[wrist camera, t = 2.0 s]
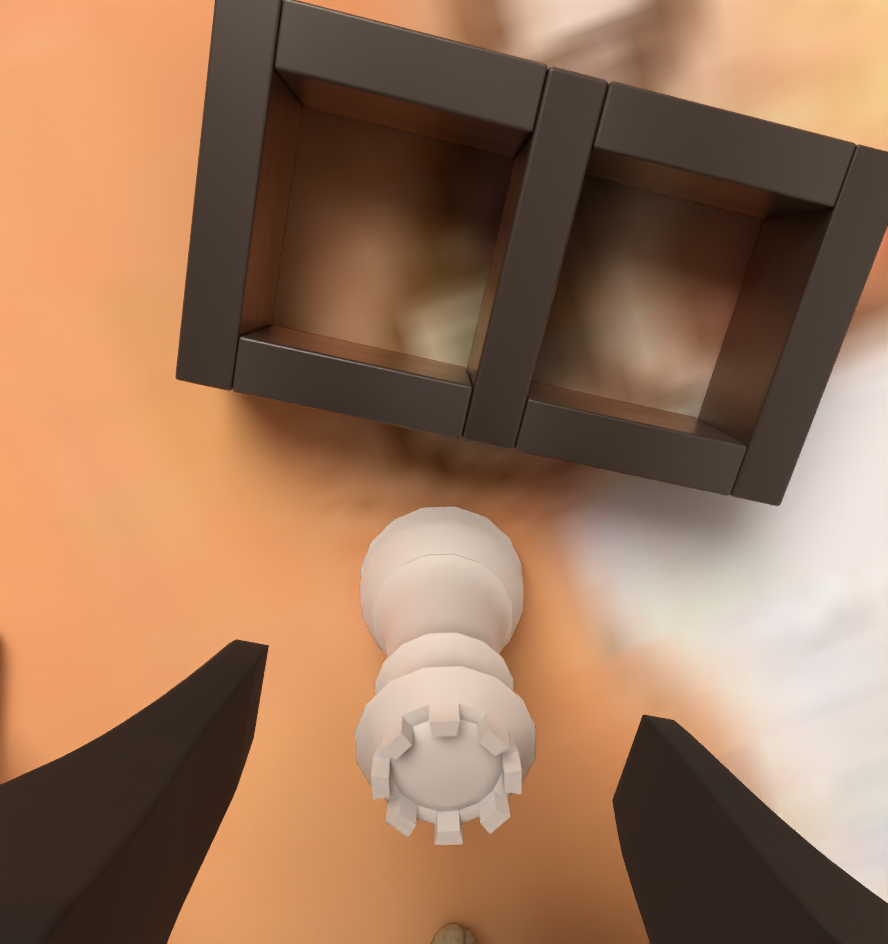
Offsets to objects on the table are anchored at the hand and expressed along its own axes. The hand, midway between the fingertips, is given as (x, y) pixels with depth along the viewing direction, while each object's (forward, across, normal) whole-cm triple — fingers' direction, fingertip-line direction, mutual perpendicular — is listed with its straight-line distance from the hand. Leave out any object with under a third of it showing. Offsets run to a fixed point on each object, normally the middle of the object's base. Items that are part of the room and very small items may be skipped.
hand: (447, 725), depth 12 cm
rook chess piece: (+7, 0, 0) cm, 7 cm away
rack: (+6, 0, -8) cm, 11 cm away
